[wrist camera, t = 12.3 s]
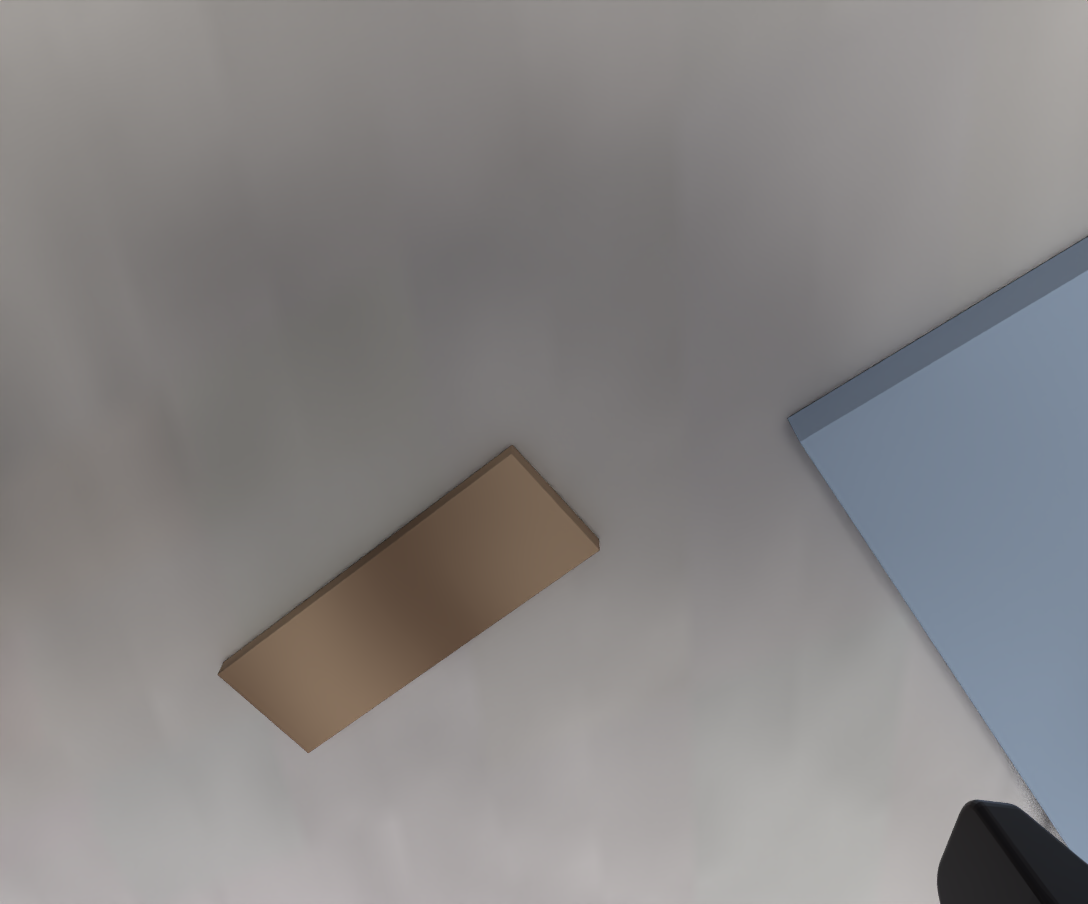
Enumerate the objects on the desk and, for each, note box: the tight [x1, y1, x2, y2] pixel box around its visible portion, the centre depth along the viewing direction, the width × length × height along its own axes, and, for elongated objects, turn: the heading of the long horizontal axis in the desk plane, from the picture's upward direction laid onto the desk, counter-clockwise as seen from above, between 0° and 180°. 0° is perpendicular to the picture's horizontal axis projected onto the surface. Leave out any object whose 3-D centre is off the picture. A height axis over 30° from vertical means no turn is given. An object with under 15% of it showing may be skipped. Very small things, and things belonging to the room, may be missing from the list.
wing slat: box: [218, 445, 600, 753], centre depth 24 cm, size 9×3×1 cm, turn 129°
